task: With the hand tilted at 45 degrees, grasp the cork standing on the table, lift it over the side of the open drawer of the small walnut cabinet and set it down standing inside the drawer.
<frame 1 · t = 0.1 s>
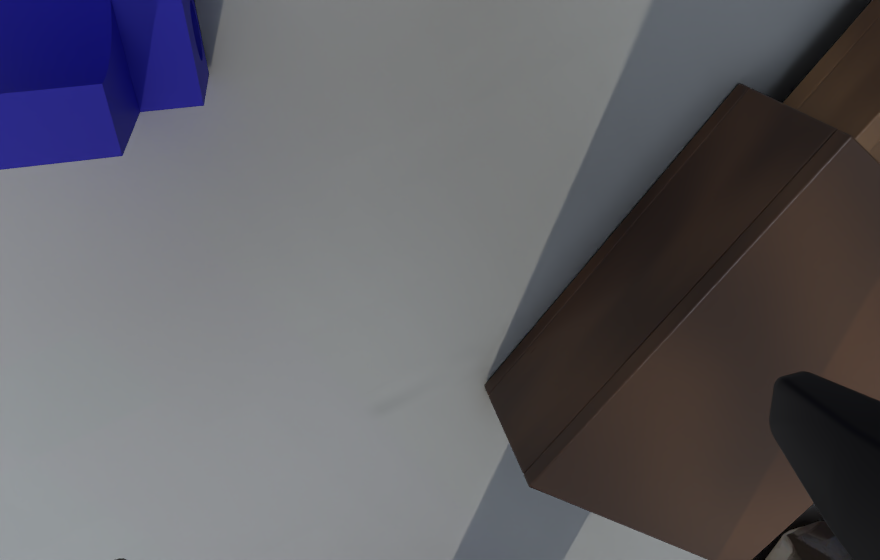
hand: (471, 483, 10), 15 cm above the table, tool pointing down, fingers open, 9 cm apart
cabinet: (700, 311, 29), on the table
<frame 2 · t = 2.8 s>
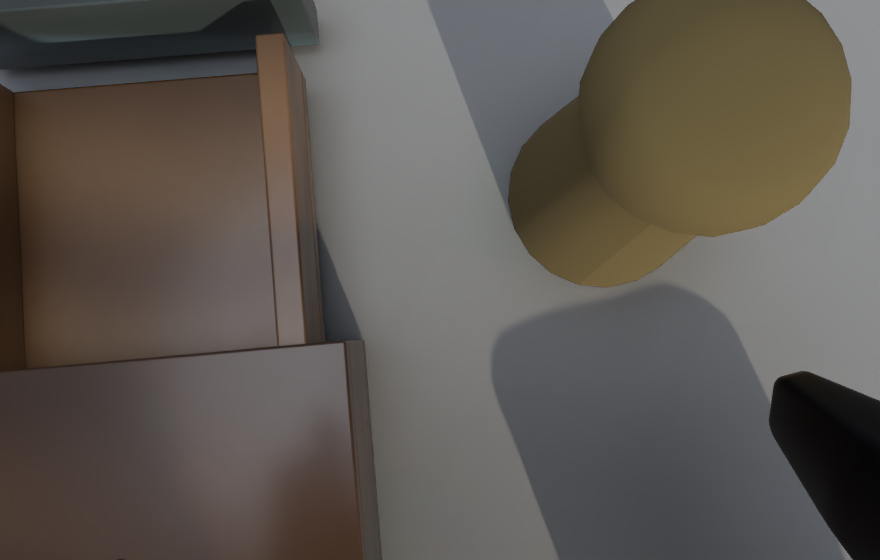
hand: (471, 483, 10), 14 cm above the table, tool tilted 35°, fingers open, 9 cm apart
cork: (598, 196, 24), on the table
drawer: (138, 155, 21), point 3 cm above the table, slide at 9.5 cm
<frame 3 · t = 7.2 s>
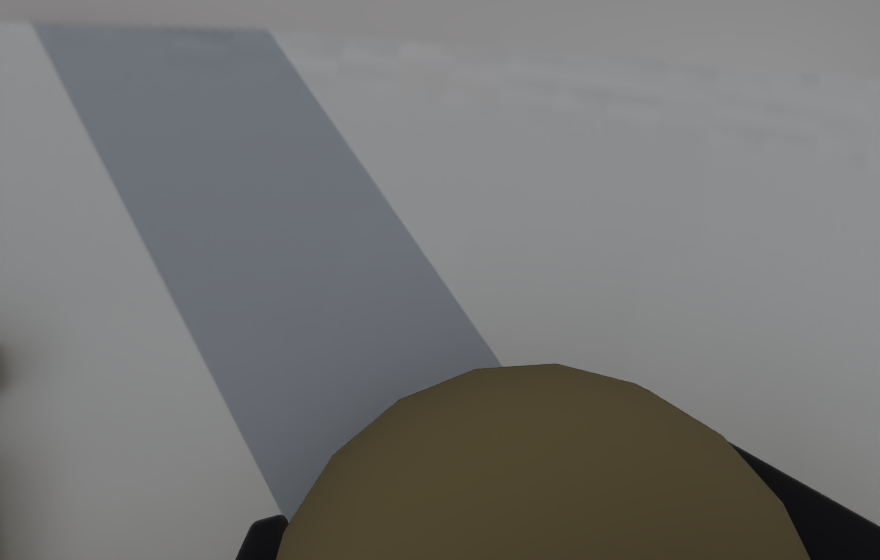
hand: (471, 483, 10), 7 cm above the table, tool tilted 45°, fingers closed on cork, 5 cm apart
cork: (455, 537, 16), on the table, touching gripper
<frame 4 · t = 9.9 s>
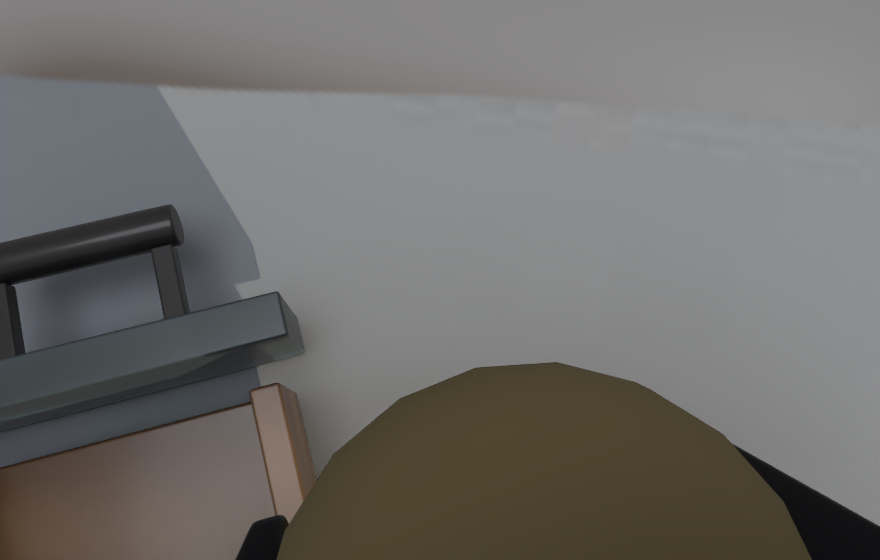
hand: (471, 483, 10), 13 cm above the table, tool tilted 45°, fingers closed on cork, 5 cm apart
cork: (456, 536, 16), point 6 cm above the table, touching gripper
drawer: (131, 528, 19), point 3 cm above the table, slide at 9.5 cm
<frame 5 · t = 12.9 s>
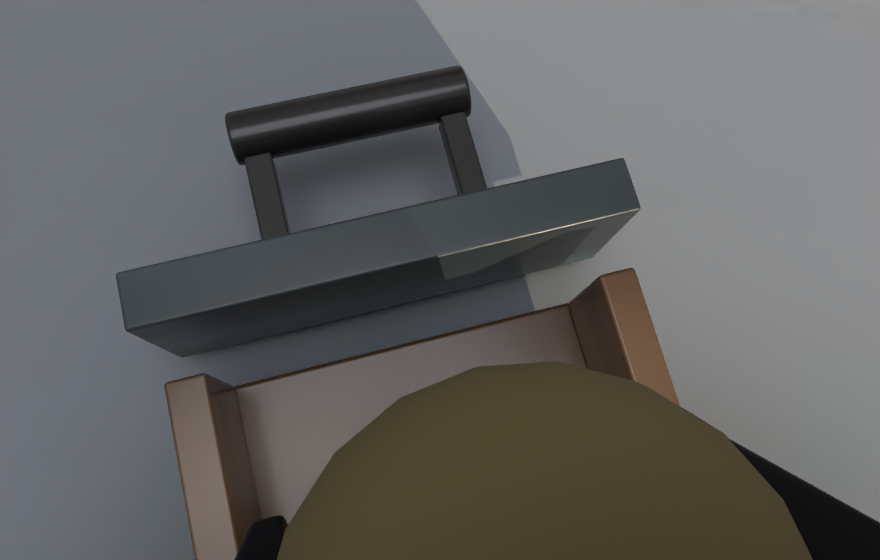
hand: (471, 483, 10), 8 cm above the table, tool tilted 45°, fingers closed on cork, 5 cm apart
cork: (456, 536, 16), point 2 cm above the table, touching drawer, gripper
drawer: (436, 452, 15), point 3 cm above the table, slide at 9.7 cm, touching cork
when the fingers open (8 cm above the table, at t = 12.9 s): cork stays where it is, resting on drawer.
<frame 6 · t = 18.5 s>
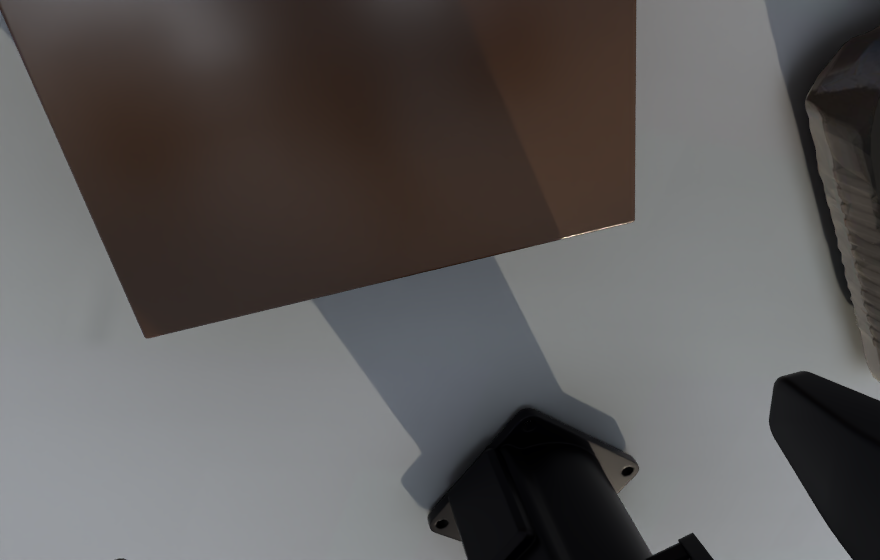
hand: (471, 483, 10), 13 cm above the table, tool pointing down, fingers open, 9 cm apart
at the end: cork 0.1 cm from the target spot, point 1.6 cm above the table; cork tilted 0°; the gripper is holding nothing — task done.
